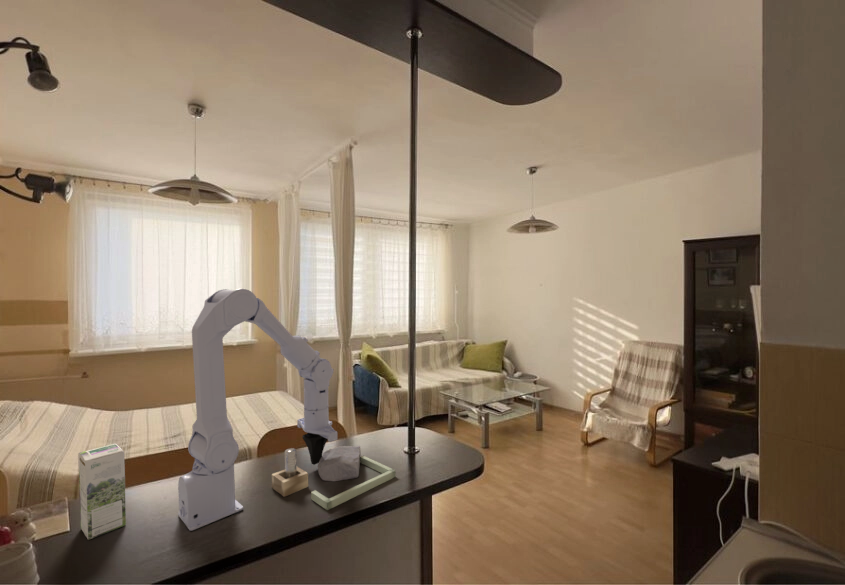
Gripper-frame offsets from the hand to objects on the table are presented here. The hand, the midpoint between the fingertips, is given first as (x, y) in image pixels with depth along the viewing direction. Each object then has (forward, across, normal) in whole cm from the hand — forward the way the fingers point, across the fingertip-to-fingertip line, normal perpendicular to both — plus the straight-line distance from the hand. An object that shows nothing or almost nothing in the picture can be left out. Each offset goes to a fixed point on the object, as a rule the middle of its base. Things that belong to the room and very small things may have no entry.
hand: (316, 463), depth 95 cm
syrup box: (+2, +10, +39) cm, 40 cm away
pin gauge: (+1, -3, +8) cm, 9 cm away
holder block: (+1, -3, +9) cm, 9 cm away
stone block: (+2, -4, -4) cm, 6 cm away
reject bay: (+1, -11, -1) cm, 11 cm away
